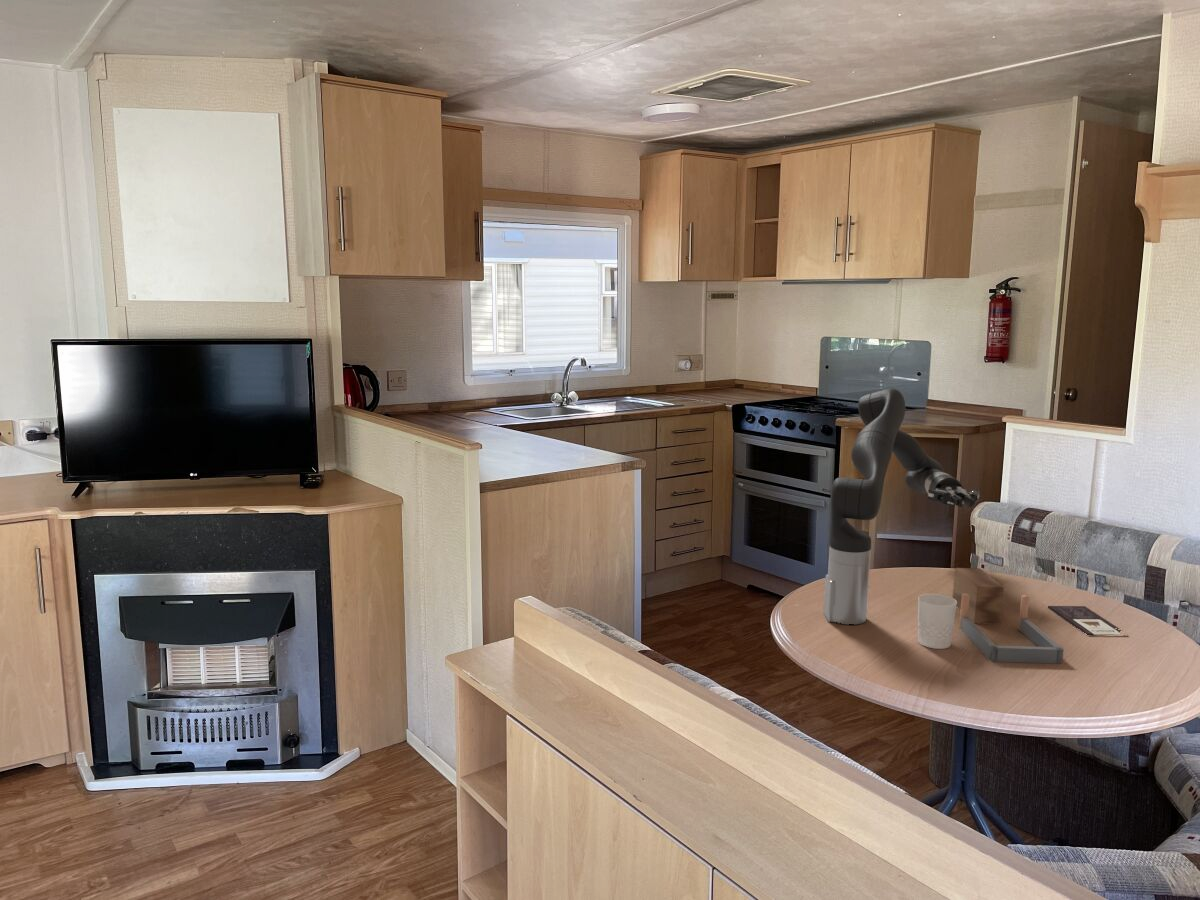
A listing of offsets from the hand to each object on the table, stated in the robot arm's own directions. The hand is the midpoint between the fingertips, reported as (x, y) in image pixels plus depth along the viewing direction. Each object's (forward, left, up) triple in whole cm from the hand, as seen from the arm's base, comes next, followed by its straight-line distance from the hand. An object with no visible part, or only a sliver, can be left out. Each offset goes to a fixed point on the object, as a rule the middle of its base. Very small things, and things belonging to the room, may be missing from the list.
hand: (966, 503), depth 223 cm
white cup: (-16, -32, -24) cm, 43 cm away
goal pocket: (0, -31, -24) cm, 39 cm away
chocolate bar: (+24, -16, -25) cm, 38 cm away
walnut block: (0, -12, -24) cm, 27 cm away
